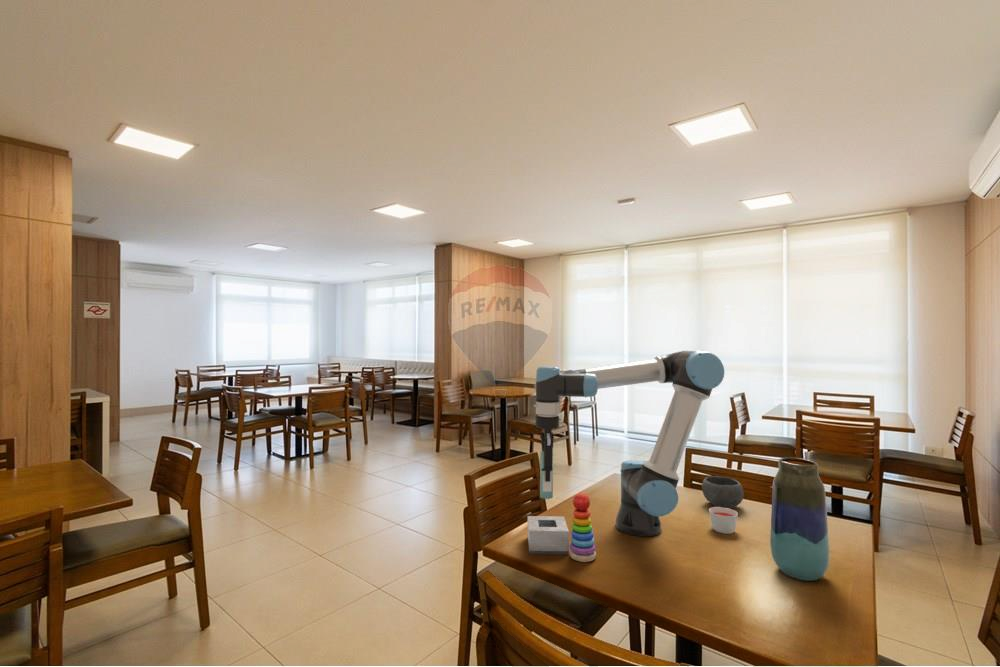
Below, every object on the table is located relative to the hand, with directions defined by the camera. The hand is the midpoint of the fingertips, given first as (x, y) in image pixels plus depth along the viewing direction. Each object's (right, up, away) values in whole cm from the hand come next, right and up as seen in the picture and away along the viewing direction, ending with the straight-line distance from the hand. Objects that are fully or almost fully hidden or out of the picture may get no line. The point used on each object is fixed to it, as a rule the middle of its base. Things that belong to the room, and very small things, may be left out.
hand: (546, 488), depth 145 cm
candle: (+62, -19, +13) cm, 66 cm away
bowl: (+74, -19, +36) cm, 84 cm away
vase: (+69, -18, -18) cm, 73 cm away
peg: (0, -3, 0) cm, 3 cm away
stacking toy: (+10, -18, -8) cm, 22 cm away
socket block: (0, -18, 0) cm, 18 cm away
